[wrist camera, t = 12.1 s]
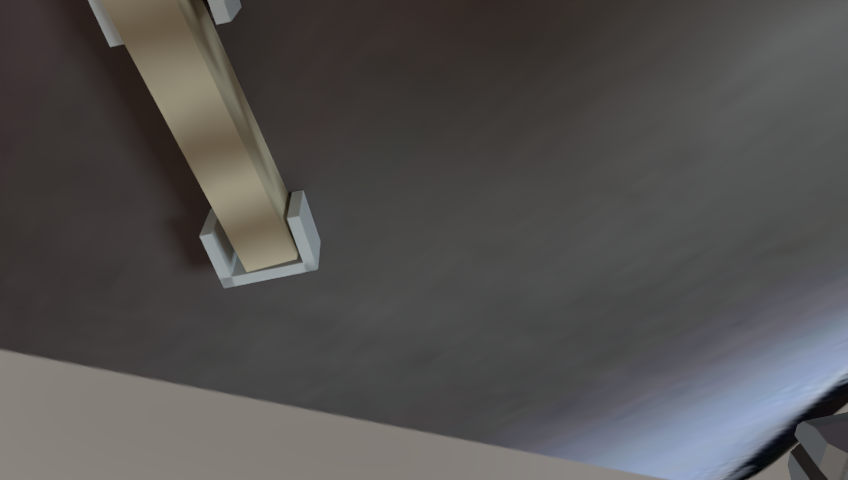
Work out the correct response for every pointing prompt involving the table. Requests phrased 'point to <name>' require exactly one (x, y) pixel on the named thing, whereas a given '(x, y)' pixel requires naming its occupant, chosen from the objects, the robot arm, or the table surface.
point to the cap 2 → (236, 275)
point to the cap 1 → (221, 4)
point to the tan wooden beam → (210, 122)
